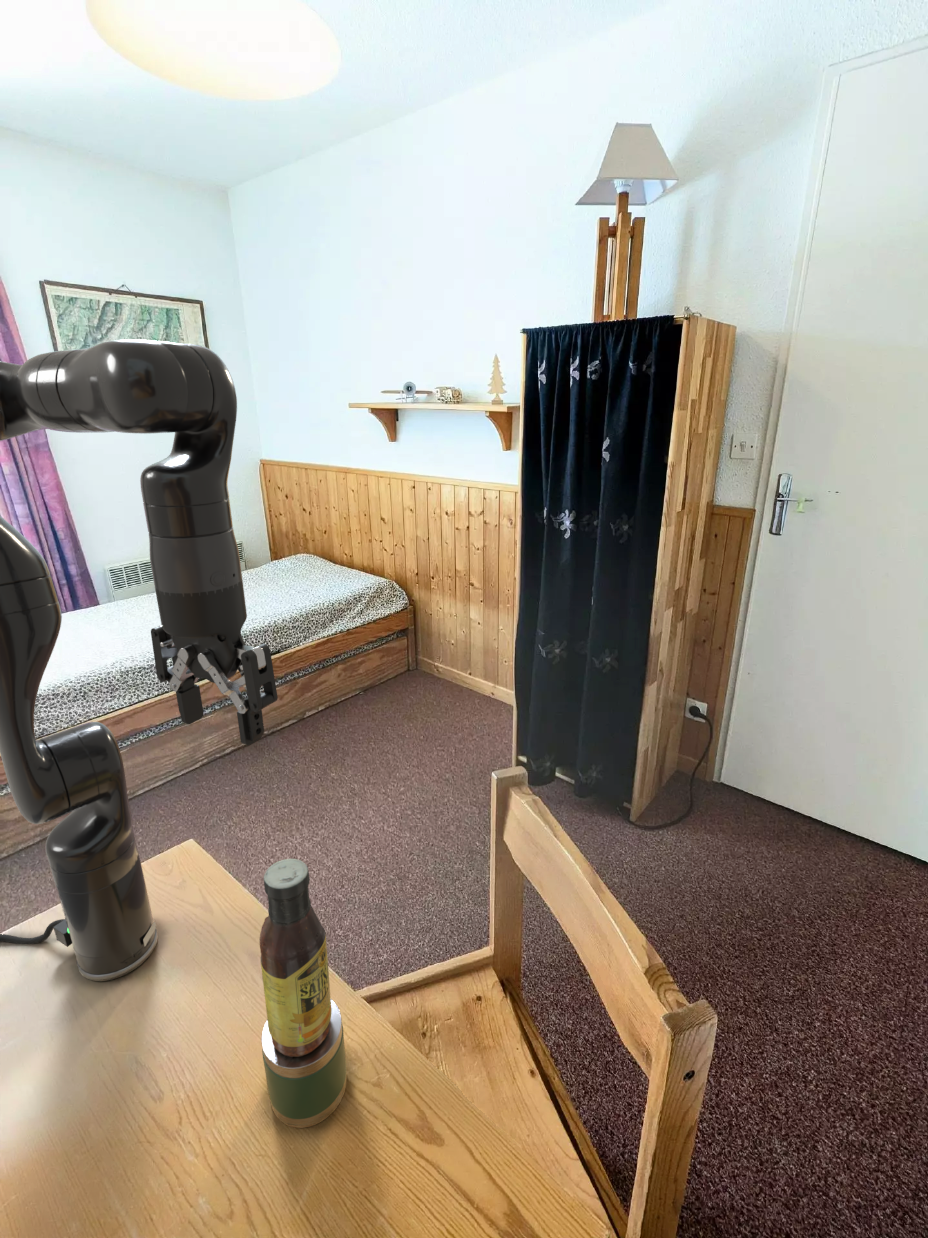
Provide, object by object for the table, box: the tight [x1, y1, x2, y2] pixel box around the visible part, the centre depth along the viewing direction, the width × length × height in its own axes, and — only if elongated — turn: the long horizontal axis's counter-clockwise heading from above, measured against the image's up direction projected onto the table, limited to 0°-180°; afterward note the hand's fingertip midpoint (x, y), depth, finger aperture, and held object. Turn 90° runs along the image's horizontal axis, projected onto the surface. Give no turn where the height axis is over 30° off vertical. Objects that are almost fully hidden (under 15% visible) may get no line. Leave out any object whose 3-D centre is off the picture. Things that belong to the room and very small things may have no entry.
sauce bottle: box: [259, 858, 332, 1057], centre depth 59 cm, size 7×6×20 cm
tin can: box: [261, 998, 348, 1129], centre depth 64 cm, size 8×8×9 cm
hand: (221, 730), depth 62 cm, fingers open, 8 cm apart
